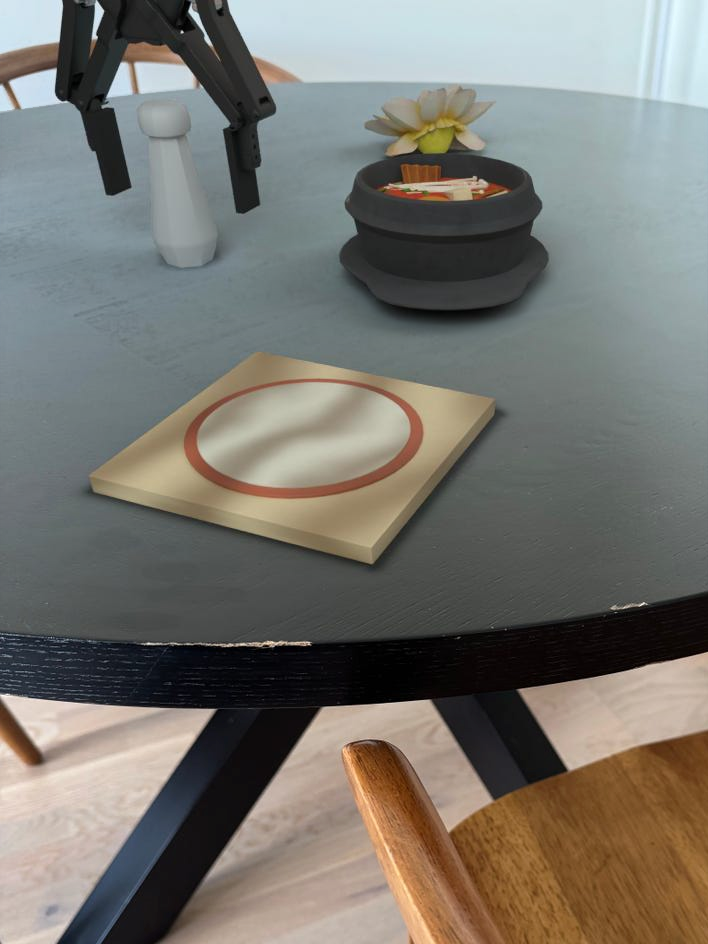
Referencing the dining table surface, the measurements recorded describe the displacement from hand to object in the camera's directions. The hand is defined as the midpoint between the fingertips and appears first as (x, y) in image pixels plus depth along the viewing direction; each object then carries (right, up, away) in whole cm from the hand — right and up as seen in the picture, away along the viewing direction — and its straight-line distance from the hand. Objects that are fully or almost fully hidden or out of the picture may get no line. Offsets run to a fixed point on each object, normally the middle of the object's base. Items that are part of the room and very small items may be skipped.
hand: (182, 200), depth 84 cm
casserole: (+23, -6, +2) cm, 24 cm away
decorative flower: (+21, +20, +32) cm, 43 cm away
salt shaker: (0, -4, +4) cm, 5 cm away
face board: (+15, -27, -22) cm, 38 cm away
